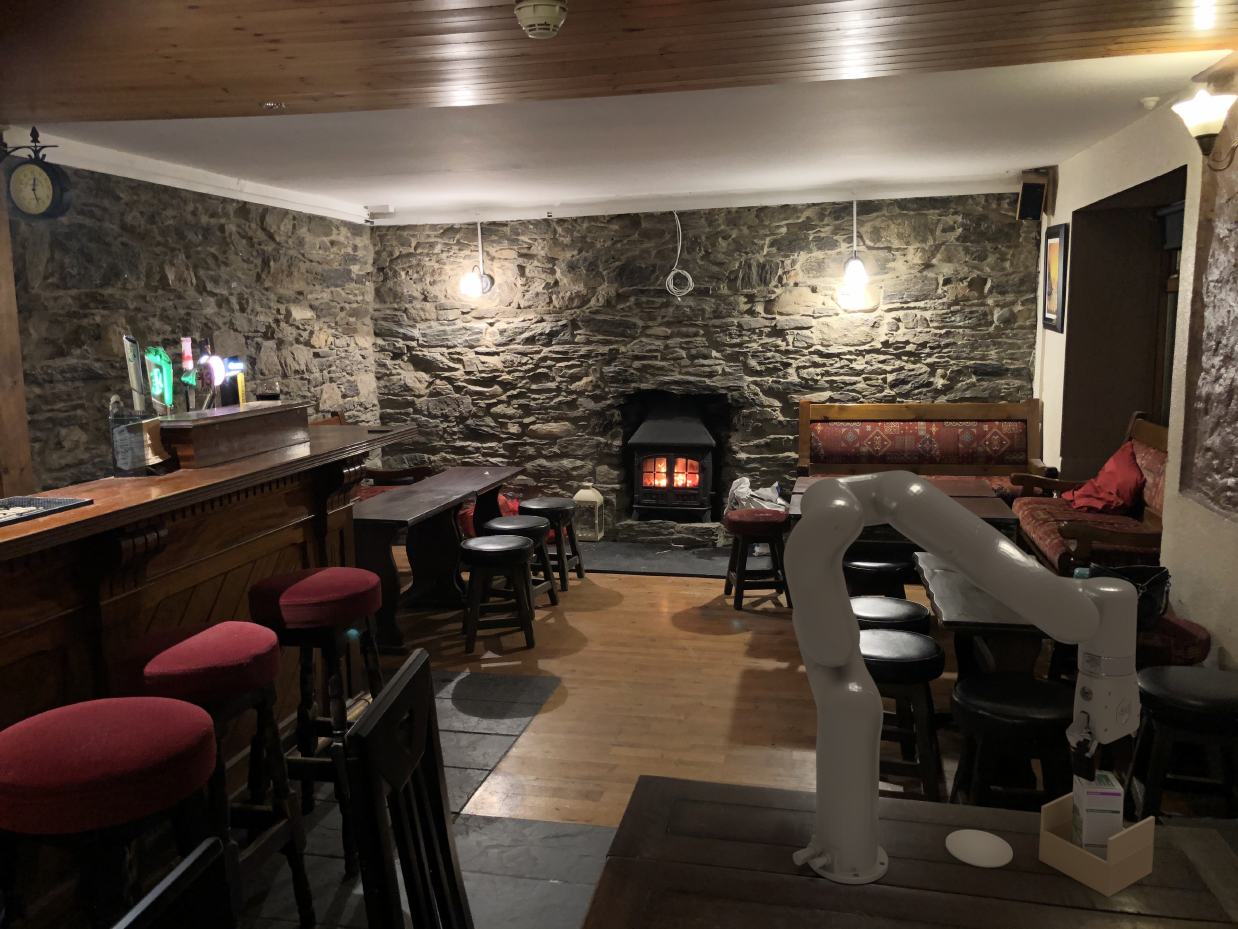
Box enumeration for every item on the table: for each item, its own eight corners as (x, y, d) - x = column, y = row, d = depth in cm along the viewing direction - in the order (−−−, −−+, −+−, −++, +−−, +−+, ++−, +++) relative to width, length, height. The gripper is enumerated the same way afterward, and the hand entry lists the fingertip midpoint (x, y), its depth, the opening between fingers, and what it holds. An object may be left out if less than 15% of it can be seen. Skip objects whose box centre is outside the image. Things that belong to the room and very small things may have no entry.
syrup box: (1121, 879, 134) (1127, 789, 132) (1079, 875, 135) (1083, 786, 133) (1109, 857, 139) (1113, 770, 137) (1068, 853, 140) (1072, 767, 138)
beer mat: (984, 875, 136) (985, 872, 136) (932, 844, 144) (932, 841, 144) (1026, 854, 141) (1026, 852, 141) (973, 825, 149) (973, 823, 149)
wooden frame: (1108, 897, 130) (1111, 840, 128) (1038, 859, 139) (1041, 806, 138) (1151, 872, 135) (1155, 817, 134) (1082, 837, 145) (1084, 786, 143)
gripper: (1095, 682, 125) (1093, 796, 127) (1164, 655, 133) (1160, 762, 136) (1047, 667, 131) (1045, 775, 134) (1115, 641, 140) (1112, 744, 142)
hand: (1103, 768), depth 135 cm, fingers open, 9 cm apart
